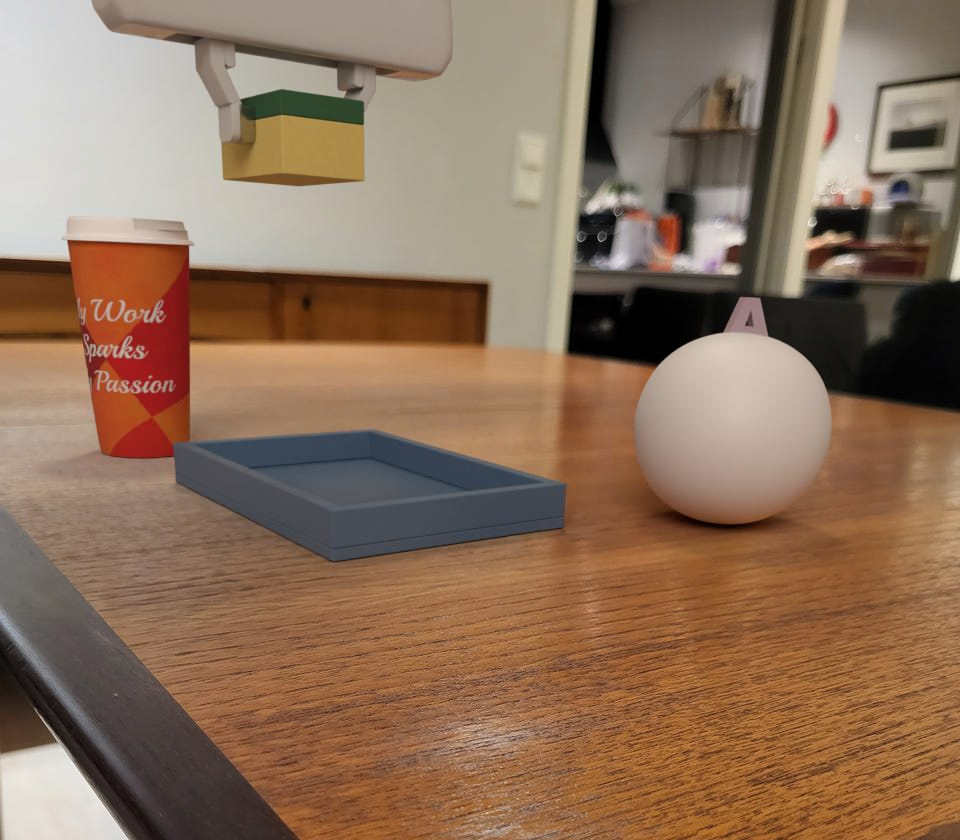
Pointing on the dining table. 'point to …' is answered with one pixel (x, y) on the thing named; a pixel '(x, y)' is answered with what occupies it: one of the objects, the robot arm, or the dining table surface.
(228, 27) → the robot arm
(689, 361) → the ornament
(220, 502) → the tray
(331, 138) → the sponge
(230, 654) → the dining table surface
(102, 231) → the coffee cup
